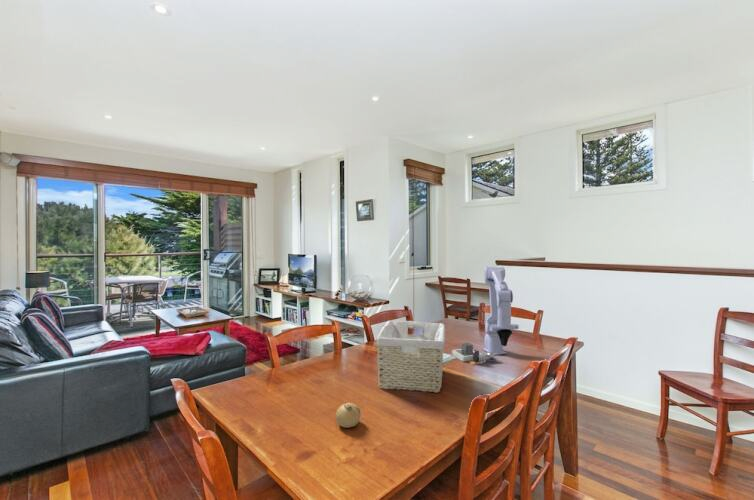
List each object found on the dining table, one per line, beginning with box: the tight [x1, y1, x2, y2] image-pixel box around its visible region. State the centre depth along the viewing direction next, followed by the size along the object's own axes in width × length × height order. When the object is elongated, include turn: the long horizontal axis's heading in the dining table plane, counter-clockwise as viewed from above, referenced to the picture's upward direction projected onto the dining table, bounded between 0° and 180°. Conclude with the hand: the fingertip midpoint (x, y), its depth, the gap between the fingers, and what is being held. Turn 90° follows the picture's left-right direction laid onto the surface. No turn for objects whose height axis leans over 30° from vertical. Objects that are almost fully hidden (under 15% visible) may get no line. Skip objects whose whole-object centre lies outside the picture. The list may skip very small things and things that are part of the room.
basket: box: [376, 319, 447, 394], centre depth 147 cm, size 27×27×22 cm
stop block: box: [461, 342, 474, 356], centre depth 174 cm, size 4×4×6 cm
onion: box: [335, 402, 361, 429], centre depth 112 cm, size 8×8×7 cm
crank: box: [473, 349, 495, 363], centre depth 167 cm, size 12×3×5 cm, turn 114°
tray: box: [451, 348, 482, 363], centre depth 174 cm, size 11×11×2 cm
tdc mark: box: [467, 361, 481, 366], centre depth 166 cm, size 4×4×1 cm
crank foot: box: [484, 357, 497, 364], centre depth 169 cm, size 5×5×1 cm
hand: (503, 345), depth 163 cm, fingers closed
